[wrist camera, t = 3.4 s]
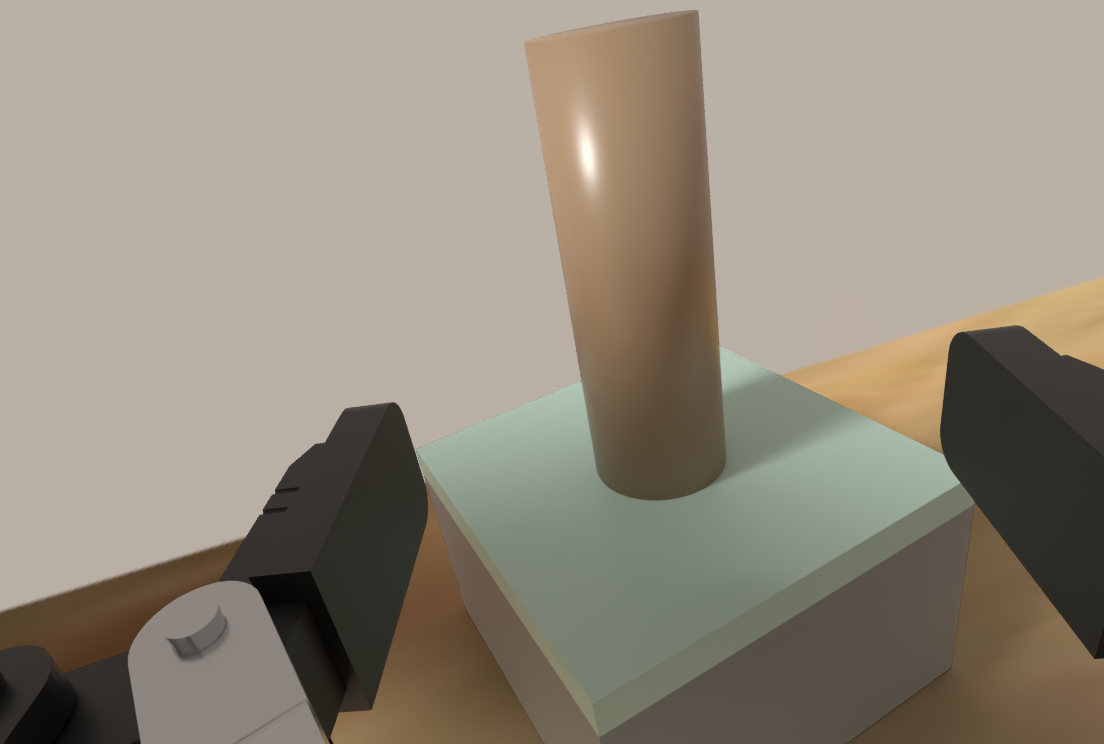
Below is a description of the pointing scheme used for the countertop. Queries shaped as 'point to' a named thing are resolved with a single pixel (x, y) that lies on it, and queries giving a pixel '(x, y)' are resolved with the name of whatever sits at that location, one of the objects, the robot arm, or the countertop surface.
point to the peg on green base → (663, 413)
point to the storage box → (760, 655)
